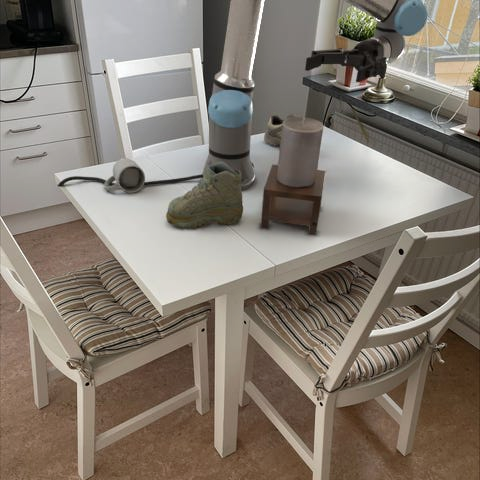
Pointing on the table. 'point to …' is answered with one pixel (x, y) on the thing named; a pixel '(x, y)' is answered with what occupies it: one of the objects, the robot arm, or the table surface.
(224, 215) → the sneaker
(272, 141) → the hiking shoe
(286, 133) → the pillar candle
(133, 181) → the ceramic mug
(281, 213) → the shelf rack
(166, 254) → the table surface
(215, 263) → the table surface
